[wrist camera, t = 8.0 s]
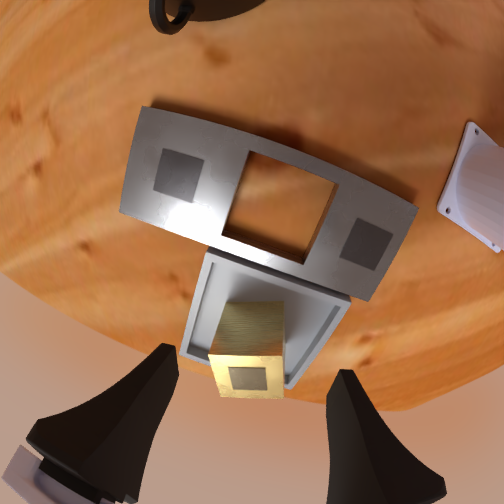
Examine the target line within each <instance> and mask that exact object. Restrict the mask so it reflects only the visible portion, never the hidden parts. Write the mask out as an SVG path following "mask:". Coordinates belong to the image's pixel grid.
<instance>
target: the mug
mask: <svg viewBox="0 0 504 504" xmlns="http://www.w3.org/2000/svg"><path fill="white" fill-rule="evenodd" d="M263 1H264V0H149V14H150V18H151V21H152V24H153V26H154V27H155V28H156V30H157V31H158V32H160V33H163V34H169V35H173V34H175V33H177V32H179V31H180V30H181V29H182V28H183V27H184V26H185V25H186V23H187V22H188V21H198V22H200V21H215V20H221V19H226V18H230V17H233V16H236V15H239V14H241V13H244V12H246V11H248V10H250V9H252V8H254V7H256V6H257V5H259V4H260V3H261V2H263ZM166 13H167V14H169V15H171V16H173V17H175V19H174V20H173V21H171V22H170V21H169V20H168V18H167V16H166Z"/></svg>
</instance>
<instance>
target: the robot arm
mask: <svg viewBox="0 0 504 504" xmlns="http://www.w3.org/2000/svg"><path fill="white" fill-rule="evenodd" d="M475 129H476V133H475ZM447 208H448V211H447V212H446V209H447ZM437 210H438V212H439V213H441V214H443V215H444V216H446V217H447V218H449V219H450V220H452V221H453V222H455V223H456V224H458V225H459V226H461V227H462V228H464V229H465V230H467V231H468V232H469V233H471V234H472V235H474V236H475V237H476V238H478V239H479V240H481V241H482V242H483V243H485V244H486V245H487V246H489V247H490V248H491V249H493V250H494V251H495V252H497V253H498V252H500V250H501V249H502V250H504V147H499V146H498V145H497V144H496V143H495V142H494V141H493V140H492V139H491V138H490V137H489V136H488V135H487V134H486V133H485V132H484V131H483V130H482V129H481V128H479V127H478V126H477V125H476V124H475V123H474V122H468V123H467V125H466V128H465V131H464V135H463V138H462V141H461V144H460V147H459V150H458V153H457V156H456V159H455V162H454V165H453V167H452V170H451V173H450V175H449V178H448V180H447V183H446V185H445V188H444V190H443V193H442V195H441V197H440V200H439V202H438V204H437ZM492 243H493V244H492ZM178 377H179V371H178V363H177V356H176V348H175V346H173V345H169V344H165V343H162V344H160V345H159V346H158V347H157V348H156V349H155V350H154V351H153V352H152V353H151V354H150V355H149V356H148V357H147V358H146V359H144V361H142V362H141V363H140V364H139V365H138V366H137V367H135V368H134V369H133V370H132V371H131V372H130V373H129V374H127V375H126V376H125V377H124V378H122V379H121V380H120V381H118V382H117V383H116V384H114V385H113V386H111V387H110V388H109V389H107V390H106V391H104V392H102V393H101V394H99V395H98V396H96V397H94V398H92V399H90V400H89V401H87V402H85V403H83V404H81V405H79V406H77V407H74V408H72V409H69V410H67V411H65V412H62V413H59V414H56V415H53V416H49V417H46V418H42V419H38V420H37V422H36V423H35V424H34V426H33V428H32V429H31V431H30V432H29V434H28V436H27V437H26V441H27V442H28V443H29V444H30V445H31V446H32V447H33V448H34V449H35V450H37V452H39V453H40V454H41V455H42V456H43V457H44V459H43V460H42V461H41V460H40V459H39V458H38V457H36V456H35V455H34V454H32V453H31V452H29V451H28V450H27V449H26V448H24V447H23V446H22V445H20V446H19V448H18V449H17V451H16V453H15V454H14V456H13V458H12V459H11V461H10V463H9V465H8V466H7V468H6V470H5V472H4V474H3V476H2V480H3V481H4V482H5V483H6V484H7V485H8V486H10V487H11V488H12V489H13V490H14V491H15V492H16V493H17V494H19V495H20V496H21V497H22V498H23V499H24V500H25V501H26V502H27V503H29V504H115V501H117V502H119V503H123V501H124V502H127V503H129V504H134V503H136V502H138V497H139V491H140V487H141V482H142V477H143V473H144V469H145V465H146V462H147V458H148V454H149V451H150V448H151V445H152V441H153V438H154V435H155V433H156V430H157V428H158V426H159V424H160V422H161V419H162V417H163V415H164V413H165V411H166V408H167V406H168V404H169V402H170V400H171V398H172V395H173V393H174V390H175V386H176V383H177V380H178ZM326 418H327V430H328V440H329V451H330V474H329V487H328V496H327V503H326V504H432V503H434V502H435V501H438V500H440V499H441V498H443V497H444V496H446V494H447V491H446V486H445V481H444V478H443V477H441V476H440V475H438V474H436V473H435V472H434V471H432V470H431V469H429V468H428V467H427V466H425V465H424V464H423V463H422V462H421V461H419V460H418V459H417V458H416V457H415V456H414V455H413V454H412V453H410V451H409V450H407V449H406V448H405V447H404V446H403V445H402V443H401V442H400V441H399V440H398V439H397V438H396V437H395V435H394V434H393V433H392V432H391V430H390V429H389V428H388V426H387V425H386V424H385V422H384V421H383V419H382V418H381V417H380V415H379V413H378V412H377V410H376V409H375V407H374V406H373V404H372V402H371V401H370V399H369V397H368V396H367V394H366V392H365V391H364V389H363V387H362V385H361V383H360V382H359V380H358V378H357V376H356V374H355V373H354V371H353V370H347V369H340V370H339V372H338V374H337V376H336V378H335V380H334V382H333V384H332V386H331V388H330V390H329V392H328V394H327V400H326Z"/></svg>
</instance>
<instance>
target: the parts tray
mask: <svg viewBox="0 0 504 504" xmlns="http://www.w3.org/2000/svg"><path fill="white" fill-rule="evenodd" d="M258 301H284V312H285V338H286V352H285V382H284V388H287V389H292V388H293V386H294V385H295V384H296V383H297V381H298V380H299V379H300V377H301V376H302V375H303V373H304V372H305V371H306V369H307V368H308V367H309V365H310V364H311V363H312V361H313V360H314V359H315V357H316V356H317V354H318V353H319V352H320V350H321V349H322V347H323V346H324V344H325V343H326V342H327V340H328V339H329V337H330V336H331V334H332V333H333V331H334V330H335V328H336V327H337V325H338V324H339V322H340V321H341V319H342V317H343V316H344V314H345V313H346V311H347V310H348V308H349V306H350V305H351V300H350V297H349V295H347V294H344V293H342V292H339V291H336V290H333V289H330V288H327V287H324V286H322V285H319V284H316V283H313V282H310V281H307V280H305V279H302V278H299V277H296V276H293V275H291V274H288V273H285V272H282V271H279V270H276V269H274V268H271V267H268V266H265V265H262V264H260V263H257V262H254V261H251V260H249V259H246V258H243V257H240V256H237V255H235V254H232V253H229V252H226V251H224V250H221V249H218V248H215V247H213V246H210V247H209V248H208V250H207V251H206V254H205V258H204V261H203V265H202V268H201V272H200V275H199V279H198V283H197V286H196V290H195V294H194V297H193V301H192V305H191V309H190V313H189V317H188V320H187V324H186V328H185V332H184V336H183V340H182V345H181V349H180V353H179V355H181V356H184V357H186V358H189V359H192V360H194V361H197V362H200V363H203V364H206V365H208V366H211V363H210V359H209V356H208V353H209V350H210V347H211V344H212V341H213V338H214V336H215V333H216V330H217V327H218V324H219V321H220V318H221V315H222V312H223V309H224V306H225V303H226V302H258ZM211 367H212V366H211Z"/></svg>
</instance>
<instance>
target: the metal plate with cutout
mask: <svg viewBox="0 0 504 504" xmlns="http://www.w3.org/2000/svg"><path fill="white" fill-rule="evenodd" d="M251 151H254V152H257V153H260V154H262V155H265V156H268V157H271V158H274V159H276V160H279V161H282V162H285V163H287V164H290V165H293V166H295V167H298V168H300V169H303V170H305V171H308V172H310V173H313V174H315V175H318V176H320V177H322V178H325V179H327V180H330V181H332V182H334V183H336V184H335V186H334V188H333V191H332V193H331V195H330V198H329V200H328V202H327V205H326V207H325V209H324V212H323V214H322V216H321V219H320V221H319V223H318V225H317V228H316V230H315V232H314V234H313V236H312V239H311V241H310V243H309V245H308V247H307V250H306V252H305V254H304V256H303V258H302V257H299V256H296V255H293V254H291V253H288V252H285V251H283V250H280V249H277V248H274V247H272V246H269V245H266V244H263V243H261V242H258V241H255V240H252V239H249V238H247V237H244V236H241V235H238V234H236V233H233V232H230V231H227V230H224V229H225V226H226V223H227V220H228V217H229V214H230V211H231V208H232V205H233V202H234V199H235V196H236V193H237V190H238V187H239V184H240V181H241V178H242V175H243V172H244V169H245V166H246V163H247V161H248V158H249V155H250V152H251ZM418 209H419V208H418V207H417V206H415V205H413V204H412V203H410V202H408V201H406V200H404V199H403V198H401V197H399V196H397V195H395V194H393V193H391V192H389V191H388V190H386V189H384V188H382V187H380V186H378V185H376V184H374V183H372V182H370V181H368V180H366V179H364V178H361V177H359V176H357V175H355V174H353V173H351V172H349V171H346V170H344V169H342V168H340V167H337V166H335V165H333V164H331V163H328V162H326V161H324V160H321V159H319V158H316V157H314V156H311V155H309V154H306V153H304V152H301V151H299V150H296V149H294V148H291V147H288V146H286V145H283V144H280V143H277V142H275V141H272V140H269V139H266V138H263V137H260V136H257V135H254V134H251V133H248V132H245V131H242V130H238V129H235V128H232V127H229V126H225V125H222V124H218V123H215V122H211V121H207V120H204V119H200V118H196V117H192V116H188V115H184V114H180V113H175V112H171V111H166V110H162V109H157V108H152V107H146V106H142V108H141V111H140V115H139V118H138V122H137V125H136V129H135V133H134V137H133V141H132V146H131V150H130V154H129V159H128V164H127V169H126V174H125V179H124V184H123V190H122V196H121V203H120V209H119V212H120V213H123V214H125V215H128V216H131V217H133V218H136V219H139V220H142V221H144V222H147V223H150V224H152V225H155V226H158V227H161V228H163V229H166V230H169V231H171V232H174V233H177V234H180V235H182V236H185V237H188V238H191V239H193V240H196V241H199V242H201V243H204V244H207V245H210V246H213V247H215V248H218V249H221V250H224V251H226V252H229V253H232V254H235V255H237V256H240V257H243V258H246V259H249V260H251V261H254V262H257V263H260V264H262V265H265V266H268V267H271V268H274V269H276V270H279V271H282V272H285V273H288V274H291V275H293V276H296V277H299V278H302V279H305V280H307V281H310V282H313V283H316V284H319V285H322V286H324V287H327V288H330V289H333V290H336V291H339V292H342V293H344V294H347V295H350V296H353V297H356V298H359V299H362V300H365V301H367V302H368V301H369V300H370V298H371V297H372V295H373V293H374V292H375V290H376V288H377V287H378V285H379V283H380V282H381V280H382V278H383V277H384V275H385V273H386V272H387V270H388V268H389V266H390V264H391V263H392V261H393V259H394V257H395V255H396V254H397V252H398V250H399V248H400V246H401V244H402V242H403V240H404V238H405V236H406V234H407V232H408V230H409V228H410V226H411V224H412V222H413V220H414V218H415V216H416V214H417V212H418Z"/></svg>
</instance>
